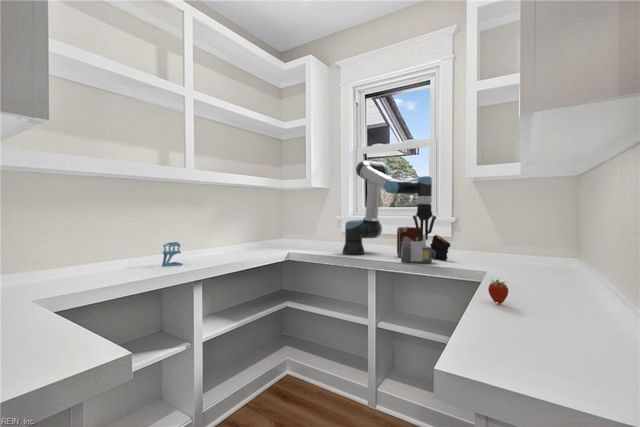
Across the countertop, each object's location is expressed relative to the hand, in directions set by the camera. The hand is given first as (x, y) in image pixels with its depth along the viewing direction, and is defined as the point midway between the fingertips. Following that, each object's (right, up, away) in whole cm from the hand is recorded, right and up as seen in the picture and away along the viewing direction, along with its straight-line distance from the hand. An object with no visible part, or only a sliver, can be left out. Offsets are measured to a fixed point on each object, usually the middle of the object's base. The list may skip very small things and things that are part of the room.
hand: (423, 245), depth 175 cm
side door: (-4, -9, 0) cm, 10 cm away
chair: (-135, -9, -15) cm, 136 cm away
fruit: (-3, -10, -78) cm, 79 cm away
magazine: (+15, -11, +17) cm, 25 cm away
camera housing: (-2, -10, +5) cm, 11 cm away
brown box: (+2, -11, +28) cm, 30 cm away
